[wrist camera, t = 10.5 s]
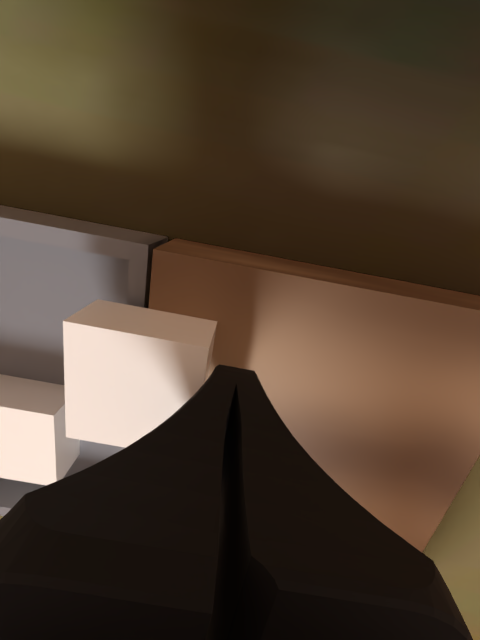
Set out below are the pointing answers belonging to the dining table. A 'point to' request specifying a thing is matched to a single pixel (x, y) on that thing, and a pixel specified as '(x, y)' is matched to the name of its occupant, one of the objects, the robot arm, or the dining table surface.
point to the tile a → (34, 431)
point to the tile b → (130, 369)
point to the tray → (61, 299)
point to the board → (346, 369)
